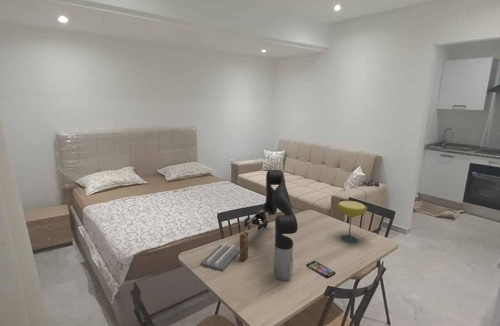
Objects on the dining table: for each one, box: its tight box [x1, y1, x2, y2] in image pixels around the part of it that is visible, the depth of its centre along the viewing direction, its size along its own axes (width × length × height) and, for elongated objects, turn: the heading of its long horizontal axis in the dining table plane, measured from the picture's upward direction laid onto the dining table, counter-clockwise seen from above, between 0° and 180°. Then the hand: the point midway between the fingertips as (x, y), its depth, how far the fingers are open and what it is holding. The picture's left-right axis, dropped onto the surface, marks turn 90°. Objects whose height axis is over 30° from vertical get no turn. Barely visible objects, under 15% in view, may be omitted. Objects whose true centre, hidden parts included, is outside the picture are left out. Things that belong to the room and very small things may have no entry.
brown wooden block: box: [239, 231, 249, 262], centre depth 161 cm, size 3×5×16 cm, turn 157°
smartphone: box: [305, 260, 336, 279], centre depth 153 cm, size 8×1×15 cm
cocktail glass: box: [337, 199, 368, 244], centre depth 186 cm, size 18×18×25 cm
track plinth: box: [200, 242, 240, 272], centre depth 162 cm, size 14×22×4 cm, turn 157°
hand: (251, 227), depth 170 cm, fingers open, 8 cm apart
